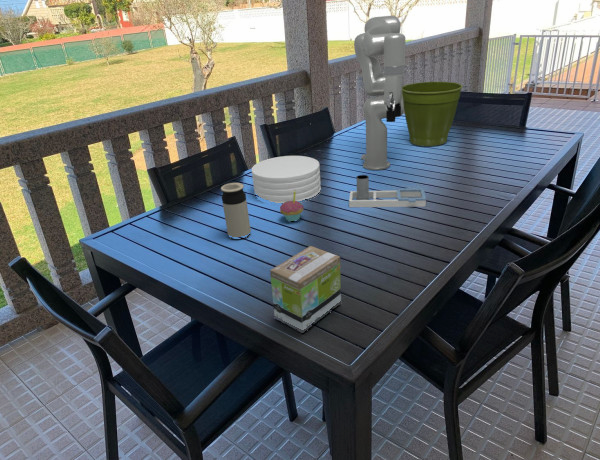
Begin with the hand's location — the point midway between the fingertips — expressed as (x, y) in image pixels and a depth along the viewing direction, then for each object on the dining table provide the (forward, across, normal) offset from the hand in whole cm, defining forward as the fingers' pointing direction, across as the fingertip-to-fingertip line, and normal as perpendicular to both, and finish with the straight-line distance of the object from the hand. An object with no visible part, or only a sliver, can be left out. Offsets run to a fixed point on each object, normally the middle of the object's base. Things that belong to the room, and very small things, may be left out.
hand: (393, 119), depth 167 cm
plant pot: (+27, -71, +2) cm, 76 cm away
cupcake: (+30, +36, -29) cm, 54 cm away
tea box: (+32, +84, -2) cm, 90 cm away
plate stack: (+29, +10, -42) cm, 52 cm away
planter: (+29, +14, -9) cm, 33 cm away
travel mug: (+30, +52, -42) cm, 73 cm away
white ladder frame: (+29, +12, 0) cm, 31 cm away
